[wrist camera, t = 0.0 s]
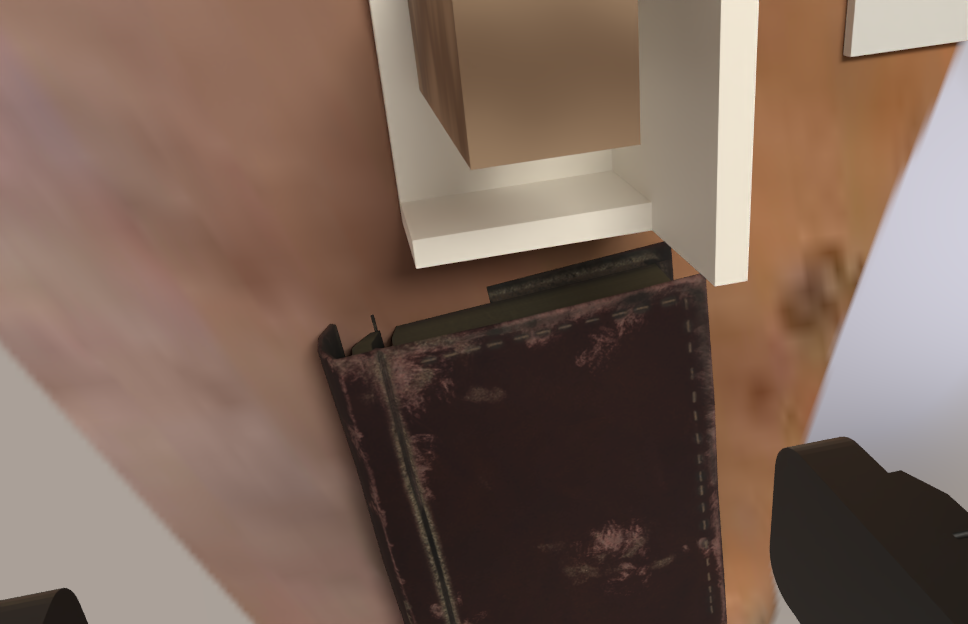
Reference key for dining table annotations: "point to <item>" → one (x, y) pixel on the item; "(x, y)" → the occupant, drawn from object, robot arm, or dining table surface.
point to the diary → (545, 450)
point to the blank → (529, 75)
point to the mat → (903, 24)
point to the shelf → (601, 174)
